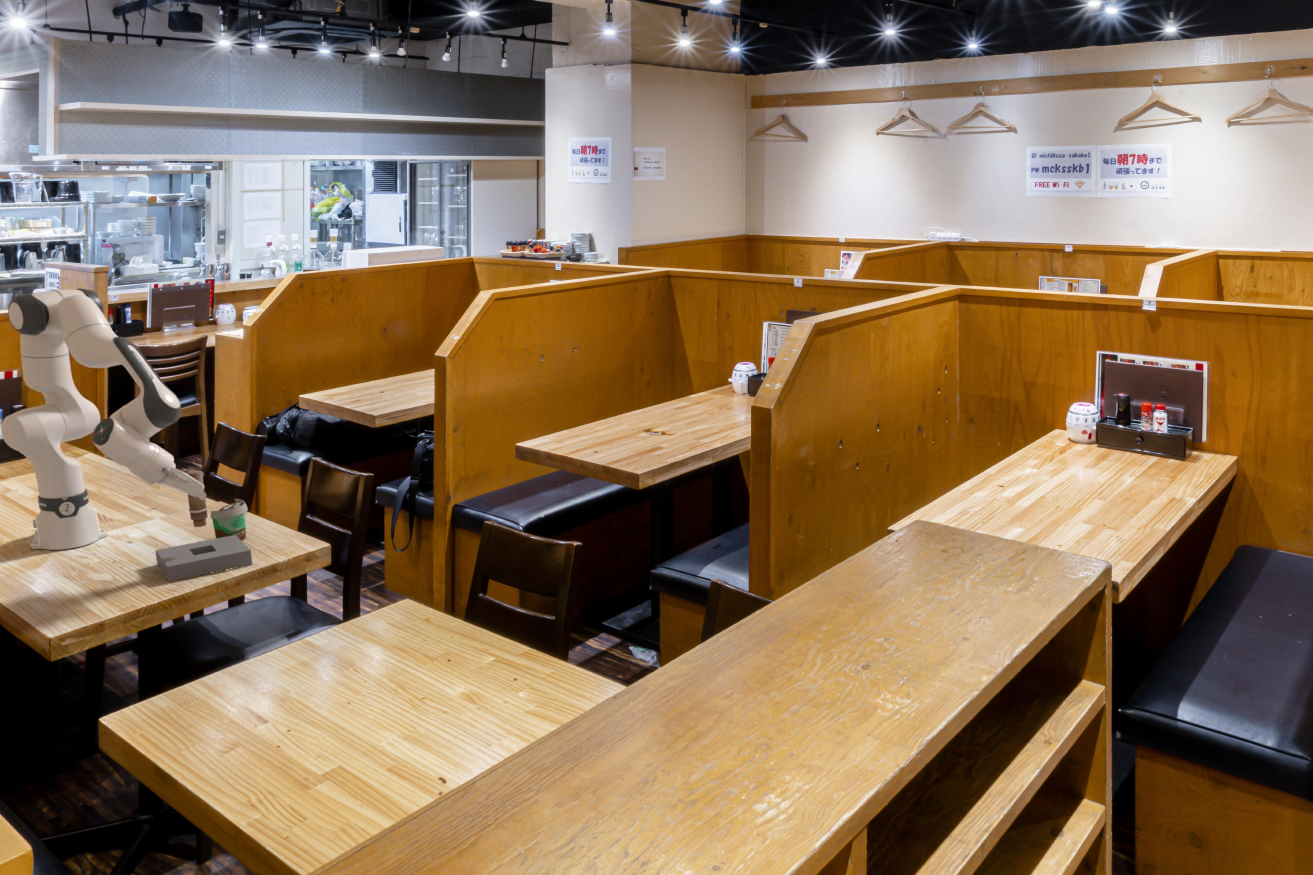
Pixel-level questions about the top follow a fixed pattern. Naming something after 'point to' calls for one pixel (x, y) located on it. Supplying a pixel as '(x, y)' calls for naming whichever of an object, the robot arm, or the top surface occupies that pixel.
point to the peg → (197, 503)
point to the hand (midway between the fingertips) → (199, 495)
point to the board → (203, 557)
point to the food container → (230, 520)
